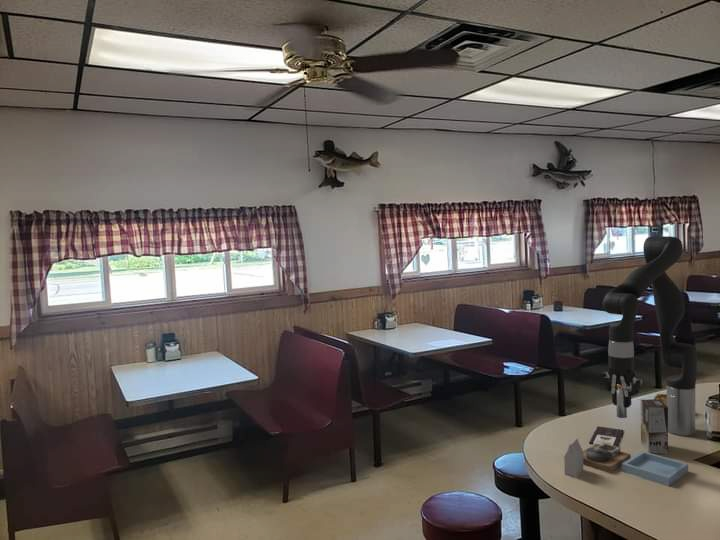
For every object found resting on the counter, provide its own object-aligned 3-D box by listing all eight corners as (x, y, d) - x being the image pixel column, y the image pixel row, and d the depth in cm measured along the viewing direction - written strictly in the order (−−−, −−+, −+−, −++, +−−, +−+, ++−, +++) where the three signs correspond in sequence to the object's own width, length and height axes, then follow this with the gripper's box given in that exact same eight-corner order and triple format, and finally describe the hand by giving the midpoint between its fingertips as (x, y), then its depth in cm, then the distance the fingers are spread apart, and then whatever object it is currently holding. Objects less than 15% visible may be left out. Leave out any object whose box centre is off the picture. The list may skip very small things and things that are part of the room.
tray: (642, 458, 184) (642, 451, 183) (688, 471, 173) (688, 464, 172) (622, 471, 175) (621, 463, 175) (668, 486, 164) (668, 478, 164)
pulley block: (596, 449, 192) (595, 435, 192) (630, 460, 183) (630, 445, 182) (574, 461, 183) (574, 447, 183) (609, 473, 174) (609, 457, 174)
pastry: (646, 413, 226) (646, 394, 225) (656, 405, 235) (656, 386, 234) (685, 420, 216) (685, 400, 215) (694, 412, 225) (694, 393, 224)
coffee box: (668, 454, 186) (668, 407, 185) (648, 453, 187) (648, 407, 186) (659, 443, 195) (659, 398, 194) (640, 442, 196) (640, 398, 195)
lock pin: (619, 414, 183) (619, 381, 182) (628, 416, 180) (628, 383, 179) (614, 416, 181) (613, 383, 180) (623, 418, 178) (623, 385, 177)
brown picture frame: (623, 429, 208) (616, 446, 192) (623, 432, 208) (616, 449, 193) (597, 426, 212) (589, 442, 197) (597, 428, 212) (589, 445, 197)
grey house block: (583, 469, 177) (583, 439, 177) (576, 477, 172) (576, 446, 171) (571, 466, 180) (571, 437, 179) (564, 474, 174) (564, 443, 174)
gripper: (648, 355, 176) (649, 408, 177) (606, 348, 187) (607, 398, 188) (637, 359, 171) (637, 413, 172) (594, 352, 182) (595, 403, 184)
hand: (621, 405), depth 180 cm, fingers closed on lock pin, 3 cm apart
